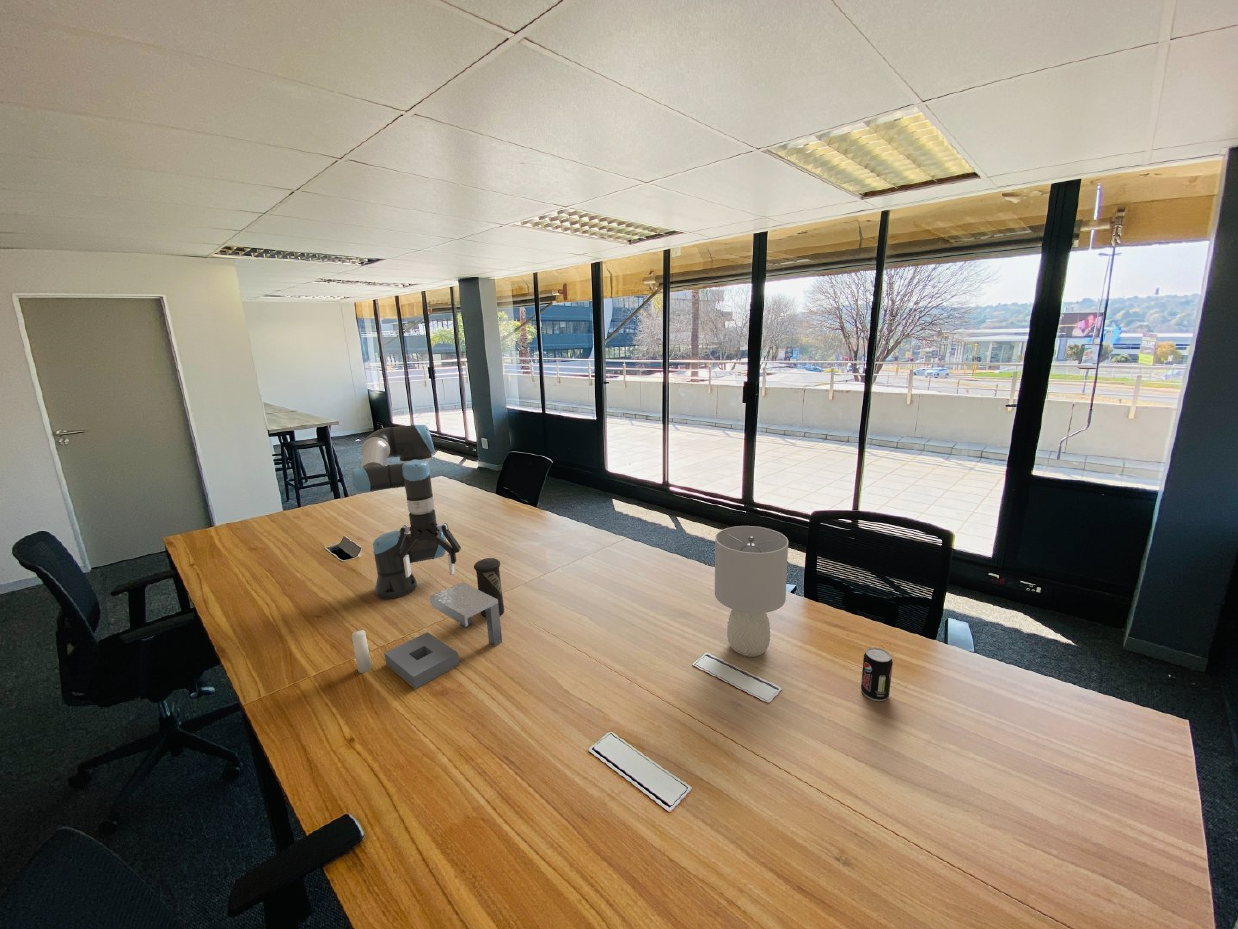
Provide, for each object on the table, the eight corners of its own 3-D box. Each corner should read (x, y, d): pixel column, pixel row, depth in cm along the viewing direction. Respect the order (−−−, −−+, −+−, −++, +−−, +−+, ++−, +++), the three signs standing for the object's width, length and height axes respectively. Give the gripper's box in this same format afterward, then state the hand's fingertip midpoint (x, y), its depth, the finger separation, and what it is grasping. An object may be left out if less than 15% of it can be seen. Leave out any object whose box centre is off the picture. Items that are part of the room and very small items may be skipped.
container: (498, 620, 172) (493, 567, 167) (475, 618, 174) (469, 566, 169) (509, 607, 180) (504, 556, 175) (486, 605, 182) (480, 555, 177)
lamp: (783, 636, 156) (788, 527, 148) (782, 676, 138) (787, 554, 129) (719, 626, 163) (720, 521, 154) (709, 663, 144) (710, 547, 136)
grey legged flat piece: (435, 637, 163) (429, 596, 159) (467, 621, 172) (462, 582, 168) (470, 660, 150) (464, 615, 146) (502, 642, 159) (497, 599, 155)
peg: (356, 669, 148) (349, 634, 145) (368, 663, 150) (362, 628, 148) (361, 674, 145) (354, 638, 143) (373, 668, 148) (367, 633, 145)
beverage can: (887, 706, 125) (892, 665, 122) (859, 697, 129) (862, 657, 126) (889, 691, 131) (894, 651, 128) (862, 682, 134) (865, 643, 131)
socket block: (386, 664, 150) (384, 653, 149) (428, 643, 160) (427, 632, 159) (415, 689, 138) (413, 677, 137) (459, 664, 148) (458, 652, 148)
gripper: (375, 517, 147) (385, 582, 152) (459, 512, 148) (467, 577, 153) (385, 509, 154) (394, 571, 159) (465, 504, 156) (472, 566, 161)
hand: (430, 574), depth 156 cm, fingers open, 13 cm apart
